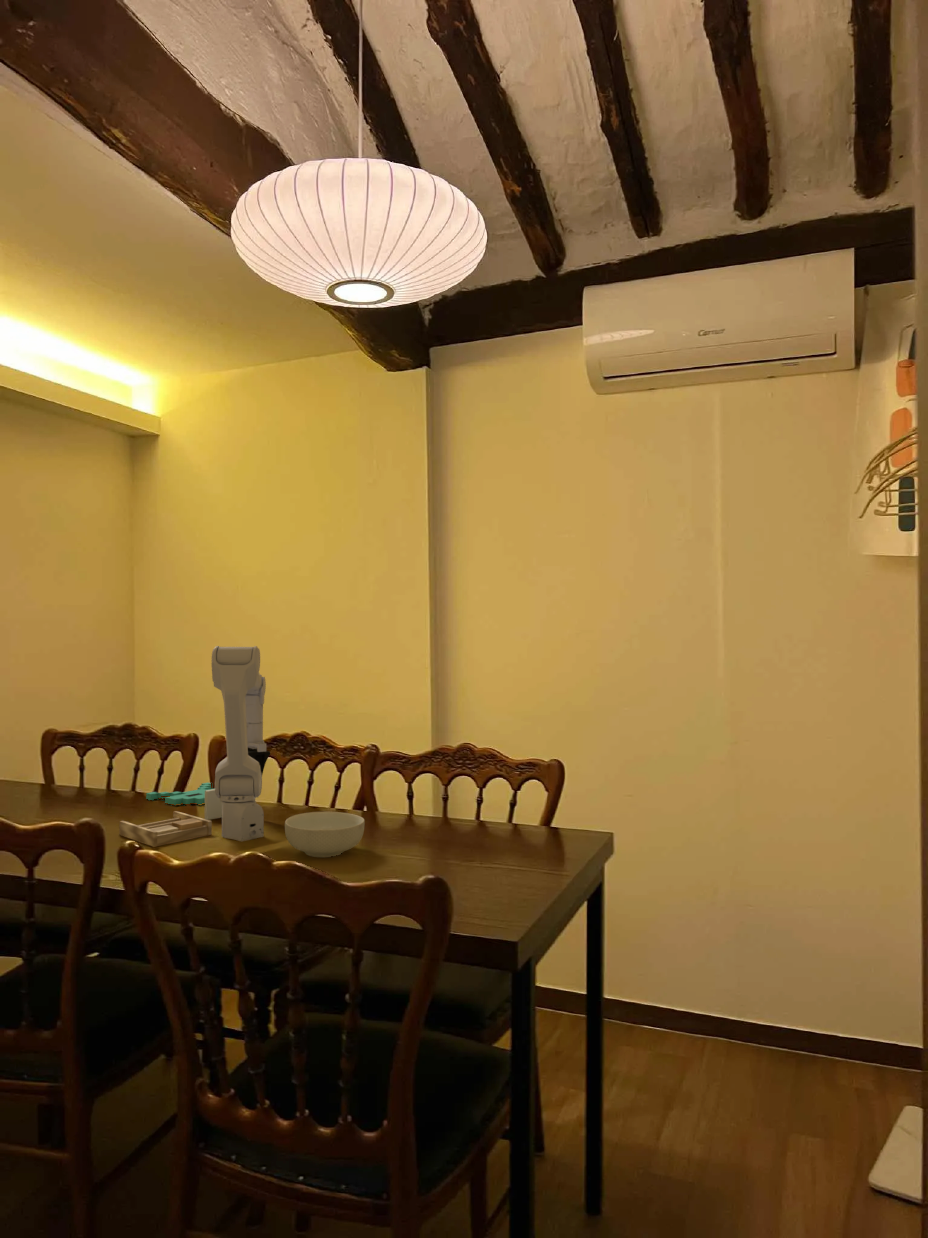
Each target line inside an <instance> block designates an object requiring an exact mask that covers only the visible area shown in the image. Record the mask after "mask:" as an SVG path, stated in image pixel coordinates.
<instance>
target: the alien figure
mask: <svg viewBox="0 0 928 1238" xmlns="http://www.w3.org/2000/svg"><path fill="white" fill-rule="evenodd" d="M211 783H212V782H203V783H201V785H199V787H197V789H194V790H187V791H183V792H182V791H173V792H172V791H171V792H170V791H161V792H157V791H152V792H146V793H145V795H146V796H145V797H146V798H145V799H148V801H150V800H152V801H155V800H154V799H157V800H159V799H158V798H162V799H163V798H165V800H164V804H165V803H168V804H174V805H176V804H181V803H183V804H190V803H197V804H202V803H205V791H206V790H212V789H215V787H214V788H213V787H212V788H211ZM161 796H170V797H161Z"/></svg>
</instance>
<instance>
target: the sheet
mask: <svg viewBox="0 0 928 1238" xmlns="http://www.w3.org/2000/svg"><path fill="white" fill-rule="evenodd" d="M220 818H221V819H222V801H220V798H218V797H217V796H216V794H215V789H214V788H212V790H206V791H205V805H204V819H206V820H210V821H211V820H216V819H220Z"/></svg>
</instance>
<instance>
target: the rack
mask: <svg viewBox="0 0 928 1238" xmlns="http://www.w3.org/2000/svg"><path fill="white" fill-rule="evenodd" d="M172 813H173V814H172V818H169V819H165V820H164V819H163V820H160V821H154V822H148V823H144V824H134V823H132V822H129V821H125V820H120V821H119V826H118V828H119V830H118V832H119V833H118V835H120V836H122V837H125V838H128V839H131V840H132V841H136V842H139V843H142V844H145V845H147V846H149V847H153V848H154V847H159V846H164V845H168V844H174V843H177V842H178V843H179V842H183V841H188V840H192V839H197V838H202V837H206V836H210V835H212V832H213V831H212V830H213V829H212V827H213V826H212V825H213V824H212V823H213V822H212V820H211V819H210V820H206V819H205V818H203V817H202V818H201V817H199V816H195V815H191V814H188V813H184V812H180V811H177V810H174V811H172ZM192 818H193V819H197V820H200V821H202V826H200V827H195V828H190V829H185V830H180V831H175V832H170V833H165V834H160V835H157V832H156V831H153V830H150V829H151V828H157V827H162V826H167V825H170V826H172V822H176V821H181V820H187V819H192Z"/></svg>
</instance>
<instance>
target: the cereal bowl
mask: <svg viewBox="0 0 928 1238" xmlns="http://www.w3.org/2000/svg"><path fill="white" fill-rule="evenodd" d="M365 821H366V820H365V818H364V817H362V816H360V815H357V814H354V813H348V812H340V811H339V812H338V811H312V812H304V813H299V814H295V815H291V816H290V817H288V818H286V820H285V821H284V832H285V833H284V834H285V838H286V840H287V842H288V843H289V845H290V846H291V847H293V848H294V849H295V850H299V851H300V852H303V853H305V855H307V856H309V857H313V858H331V856H333V857H337V856H339V855H342V854H343V853H344V852H345V851H349V850H351V849H352V848H354V847H355V846H358V844H359V842H361V840H362V839H363V836H364V831H365V825H366V824H365ZM341 853H342V854H341ZM336 855H337V856H336Z"/></svg>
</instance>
